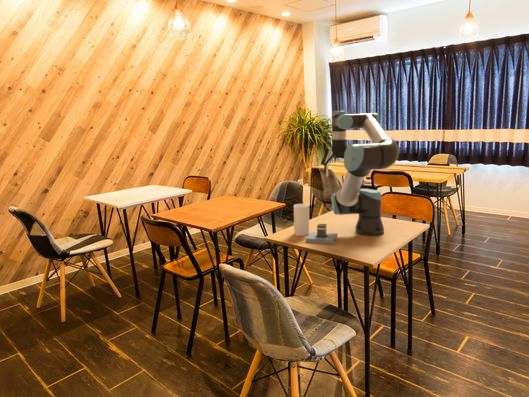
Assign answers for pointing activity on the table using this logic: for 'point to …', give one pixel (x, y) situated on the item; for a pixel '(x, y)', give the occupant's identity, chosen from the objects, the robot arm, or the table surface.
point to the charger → (321, 230)
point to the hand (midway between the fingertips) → (339, 176)
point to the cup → (301, 219)
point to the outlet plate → (314, 239)
